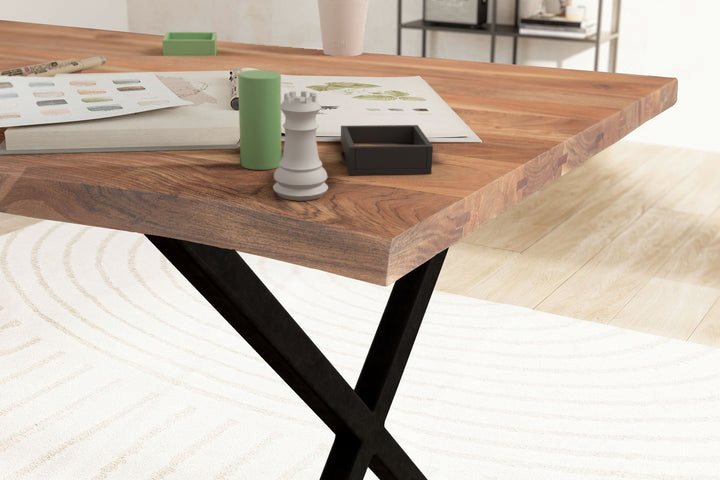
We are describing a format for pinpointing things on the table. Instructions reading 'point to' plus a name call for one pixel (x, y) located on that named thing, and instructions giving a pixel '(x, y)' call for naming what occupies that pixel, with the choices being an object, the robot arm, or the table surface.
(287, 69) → the table surface
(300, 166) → the rook chess piece
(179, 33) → the green tray
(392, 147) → the dark tray
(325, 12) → the dixie cup
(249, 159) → the green peg
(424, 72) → the table surface
